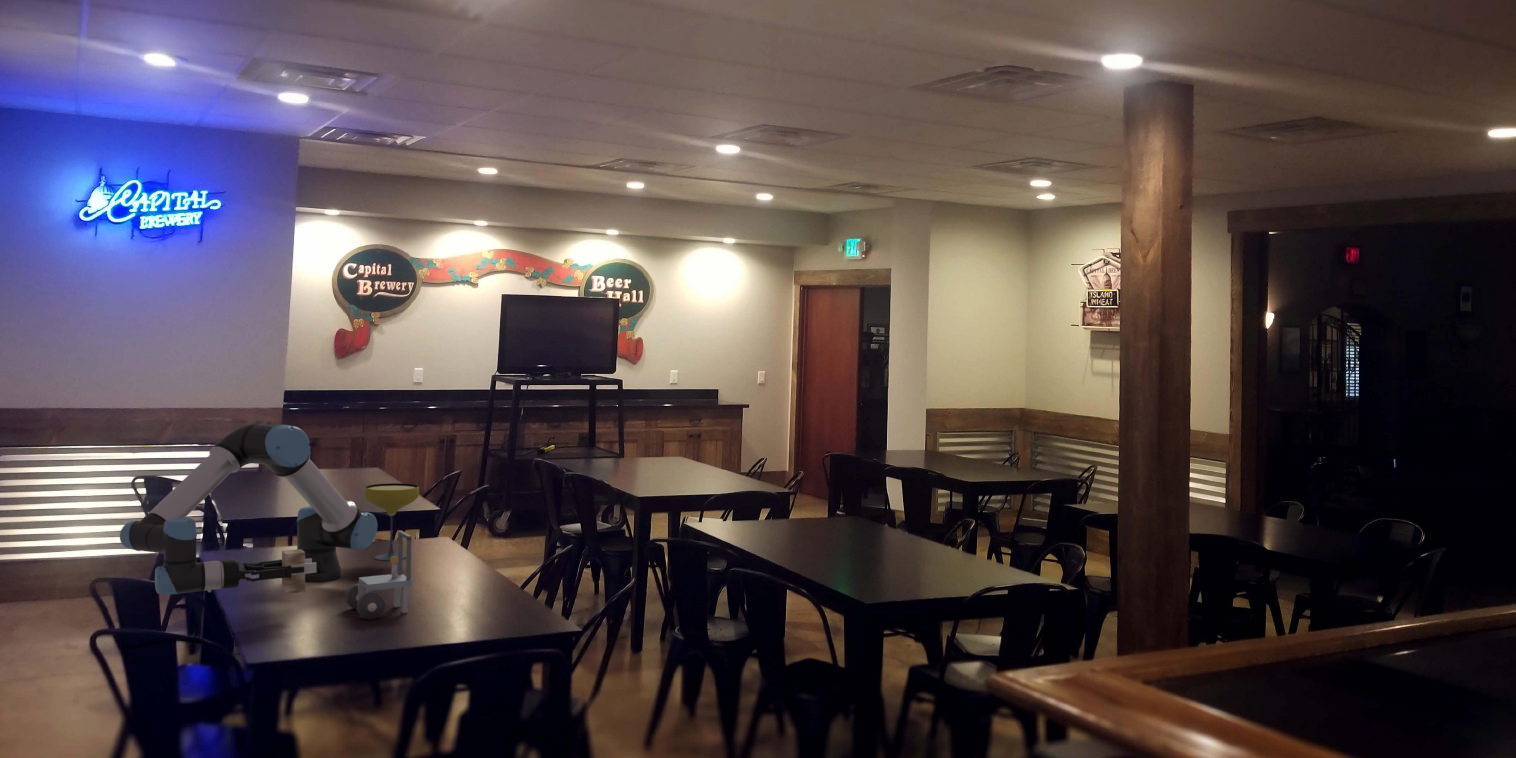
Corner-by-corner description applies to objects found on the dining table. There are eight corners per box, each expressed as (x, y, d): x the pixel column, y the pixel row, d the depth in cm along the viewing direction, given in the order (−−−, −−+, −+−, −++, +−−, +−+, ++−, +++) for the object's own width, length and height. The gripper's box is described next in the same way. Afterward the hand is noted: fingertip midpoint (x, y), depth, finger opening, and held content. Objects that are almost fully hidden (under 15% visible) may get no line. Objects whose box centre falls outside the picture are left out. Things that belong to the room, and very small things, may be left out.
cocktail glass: (397, 550, 392) (398, 481, 391) (428, 557, 382) (429, 486, 381) (352, 557, 378) (353, 486, 377) (384, 565, 367) (385, 491, 366)
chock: (285, 593, 296) (285, 554, 295) (281, 590, 300) (281, 550, 299) (304, 591, 299) (305, 552, 298) (301, 587, 303) (301, 549, 302)
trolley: (358, 621, 296) (359, 542, 295) (345, 608, 309) (346, 533, 308) (414, 614, 304) (415, 537, 304) (398, 602, 317) (399, 529, 316)
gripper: (216, 581, 297) (306, 572, 310) (226, 595, 282) (321, 585, 295) (216, 554, 296) (306, 546, 309) (226, 567, 281) (321, 558, 294)
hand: (313, 565), depth 302 cm, fingers closed on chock, 5 cm apart
